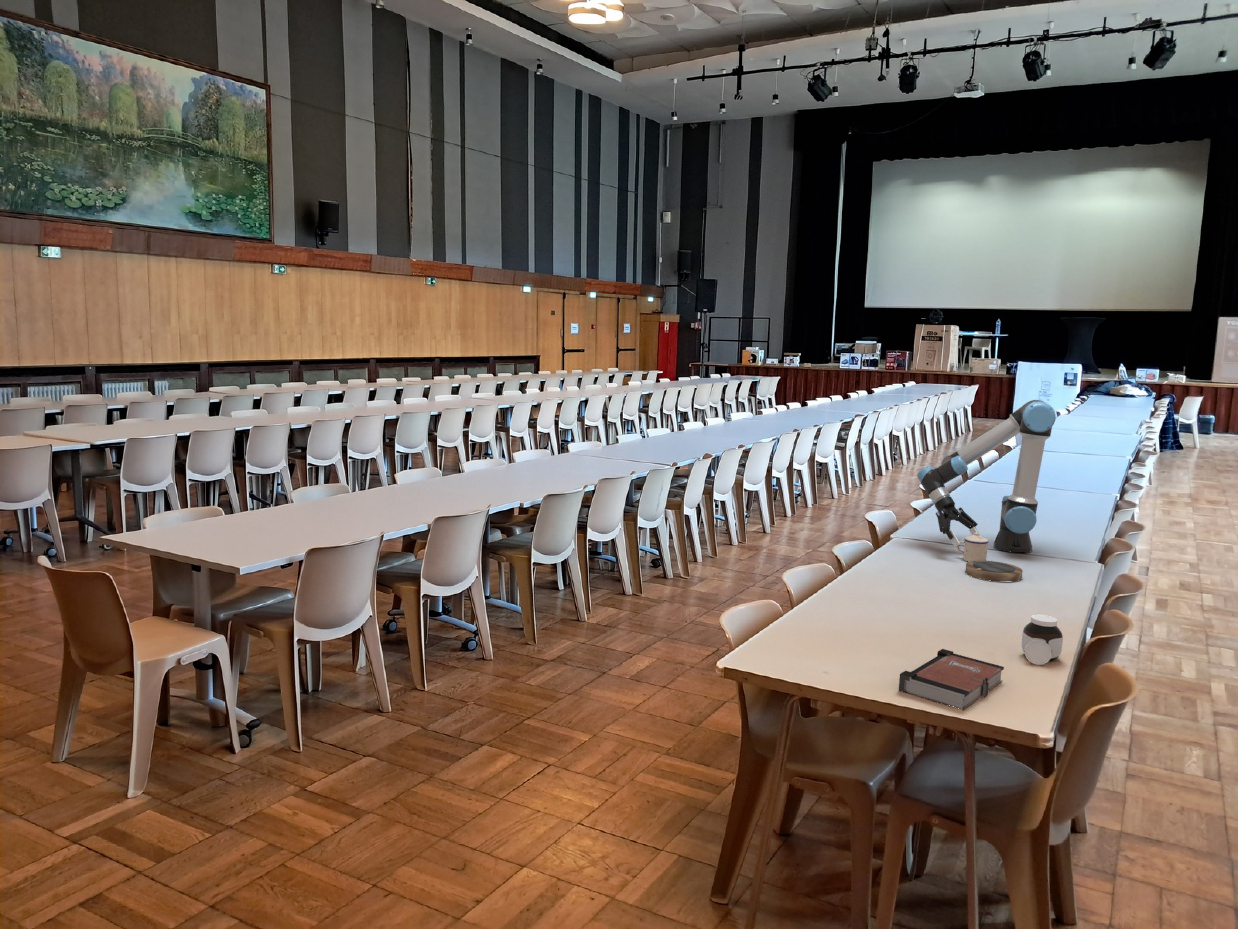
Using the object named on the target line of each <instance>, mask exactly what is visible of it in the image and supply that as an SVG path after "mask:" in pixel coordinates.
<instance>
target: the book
mask: <svg viewBox="0 0 1238 929" xmlns="http://www.w3.org/2000/svg"><path fill="white" fill-rule="evenodd" d="M936 655H937V656H935V657H933V658H931V660H929V661H926V662H925V663H923V664H922V665H920V666H919V667H917V668H915V669H914V670H912V671H908V670H904V671H903V672H900V673H899V682H898V691H899V692H901V691H903V692H902V693H904V692H905V693H904V694H908V695H910V696H911V695H912V696H915V697H918V698H920V699H924V698H925V699H924V700H927V701H930V700H931V701H932V702H934V703H937V702H938V704H940V703H942V704H941V705H943V704H944V705H943V706H946V705H950V706H954V707H956V708H959V709H962V710H961V711H965V710H966V709H967V708H969V707H970V706H972V705H973V704H974V703H976V702H977V701H979V700H980V699H981V698H984V697H986V696H988V694H989V692H990V691H992V690H993V689H994V687H995V686H996V687H997V686H999V685H1000V684H1001V683H1003V682H1002V681H1003V680H1002V671H1004V669H1005V667H1004V666H1002V665H999V664H994V663H992V662H991V663H990V662H987V661H984V660H979V659H977V658H973V657H969V656H965V655H962V654H957V653H954V651H953V650H948V649H945V648H941V649H939V650H938V651H937V653H936ZM998 684H999V685H998ZM996 687H995V688H996ZM992 688H993V689H992ZM991 689H992V690H991ZM988 691H989V692H988ZM979 698H980V699H979ZM950 706H949V707H950ZM956 708H955V709H956ZM965 708H966V709H965ZM959 709H958V710H959ZM964 709H965V710H964Z"/></svg>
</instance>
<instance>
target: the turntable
mask: <svg viewBox="0 0 1238 929" xmlns="http://www.w3.org/2000/svg"><path fill="white" fill-rule="evenodd" d="M1023 571H1024V570H1023V569H1022V568H1021V567H1019V566H1018V565H1014V564H1010V563H1006V562H1000V561H996V560H995V561H993V560H986V561H971V562H967V563H966V564H965V571H964V572H965V574H966V575H968V576H969V575H970V576H969V577H971V576H972V578H975V579H977V578H981V579H985V580H984V581H986V580H991V581H990V582H993V581H1017V582H1019V581H1018V580H1020V579H1021V578H1022V579H1023V573H1024V572H1023ZM981 579H980V580H981ZM1022 579H1021V580H1022ZM1021 580H1020V581H1021Z"/></svg>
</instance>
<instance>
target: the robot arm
mask: <svg viewBox="0 0 1238 929" xmlns="http://www.w3.org/2000/svg"><path fill="white" fill-rule="evenodd" d="M1056 418H1057V415H1056V412H1055V409H1054V407H1052V405H1051V404H1049V403H1047V402H1045V401H1043V400H1041V399H1040V400H1039V399H1032V400H1029V401H1027V402H1026V403H1024V404H1023V405H1022V406H1021V407H1019V408H1018V409H1017V410H1015V411H1014V412H1012V413H1010V414H1009V417H1008V418H1007V419H1005V420H1003V422H1001V423H999V424H997V425H996V426H994V427H993V428H991V429H990V430H988V431H987V432H985V433H983V434H982V435H980V436H979V437H977V438H975V439H974V440H972V441H971V442H969V443H967V444H965V445H964V446H963V447H961V448H959V449H957V450H956V451H954V452H953V453H951V454H949V455H947V456H945V457H944V458H943V459H942V461H941V465H938V466H937V467H935V468H934V467H933V466H926V467H923V468H922V469H920V470H919V471H918V472H917V479H918V480H919V483H920V485H921V487H922V488H923V490H924V491H925V493H926V494H927V496H928V497H929V498H930V500H931V503H933V505H934V508H935V509H936V510H937V511H936V512H935V516H936V517H937V523H938V527H939V532H940V533H942V534H943V535H946V536H947V538H948V539H949V540H950V542H951V543H952V545H953V547H954V548H957V546H958V545H959V546H960V544H961V543H960V541H959V539H958V538H957V536H956V534H955V533H954V530H953V529H951V521H956V522H959V523H960V524H962V525H963V526H964V527H966V528H967V529H969V530H968V532H969V533H970V534H971V535H974V533H975V532H978V533H980V532H979V531H978V530H977V528H976V527H977V526H978V522H976V521H975V520H974V519H973V518H972V517H971V516H970V515H969V514H967V513H966V512H965V511H964V509H963V508H962V507H961V506H960V507H959V508H956V502H955V501H954V499H953V498H952V496H951V494H950V493H949V491H948V490H947V488H946V486H945V484H947V483H949V482H951V481H952V480H954V479H956V478H957V477H960V476H962V475H963V474H965V473H966V472H967V471H968V470H969V467H968V465H970V464H972V463H973V462H975V461H977V460H978V459H980V458H981V457H983V456H984V455H986V454H988V453H990V452H991V451H993V450H994V449H996V448H998V447H999V446H1001V445H1002V444H1004V443H1006V442H1007V441H1009V440H1011V439H1012V438H1014V437H1016V436H1017V435H1019V434H1020V435H1021V437H1022V438H1021V444H1020V449H1019V454H1018V460H1017V461H1018V462H1017V466H1016V472H1015V477H1014V483H1013V487H1012V493H1011V495H1004V496H1003V497H1002V499H1001V509H1000V510H1001V512H1000V522H999V529H998V532H997V535H996V537H995V540H994V541H993V548H994V549H995V550H998V549H999V551H1001V550H1003V551H1002V552H1006V551H1011V552H1010V553H1013V552H1029V553H1031V552H1030V551H1032V552H1033V544H1032V539H1031V536H1030V532H1031V531H1032V530H1033V529H1034V528H1035V526H1036V524H1037V520H1038V519H1037V510H1038V505H1039V501H1038V500H1037V499H1036V492H1037V488H1038V483H1039V482H1038V481H1039V477H1040V472H1041V466H1042V462H1043V454H1044V449H1045V445H1046V441H1047V439H1050V437H1051V436H1052V430H1053V426H1054V425H1055V422H1056Z"/></svg>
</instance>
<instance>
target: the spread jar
mask: <svg viewBox="0 0 1238 929" xmlns="http://www.w3.org/2000/svg"><path fill="white" fill-rule="evenodd" d="M1058 621H1059V620H1058V619H1057V618H1056V617H1054V616H1050V615H1047V614H1033V615H1031V616H1030V622H1029V623H1027V624H1026V625H1025V626H1024V628H1023V630H1022V633H1021V649H1022V651H1023V653H1024V655H1025V656H1024V657H1025V658H1026V659H1027V660H1028V661H1029V662H1030V663H1032V664H1033V665H1036V666H1037V665H1038V666H1041V665H1042V666H1043V665H1045V664H1047V663H1048V661H1050V662H1053V661H1055V660H1057V659H1059V657H1060V656H1061V655H1062V651H1063V650H1062V649H1063V643H1064V641H1063V640H1064V638H1063V636H1064V635H1063V632H1062V630H1061V629H1060V628H1059V627H1058Z"/></svg>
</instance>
